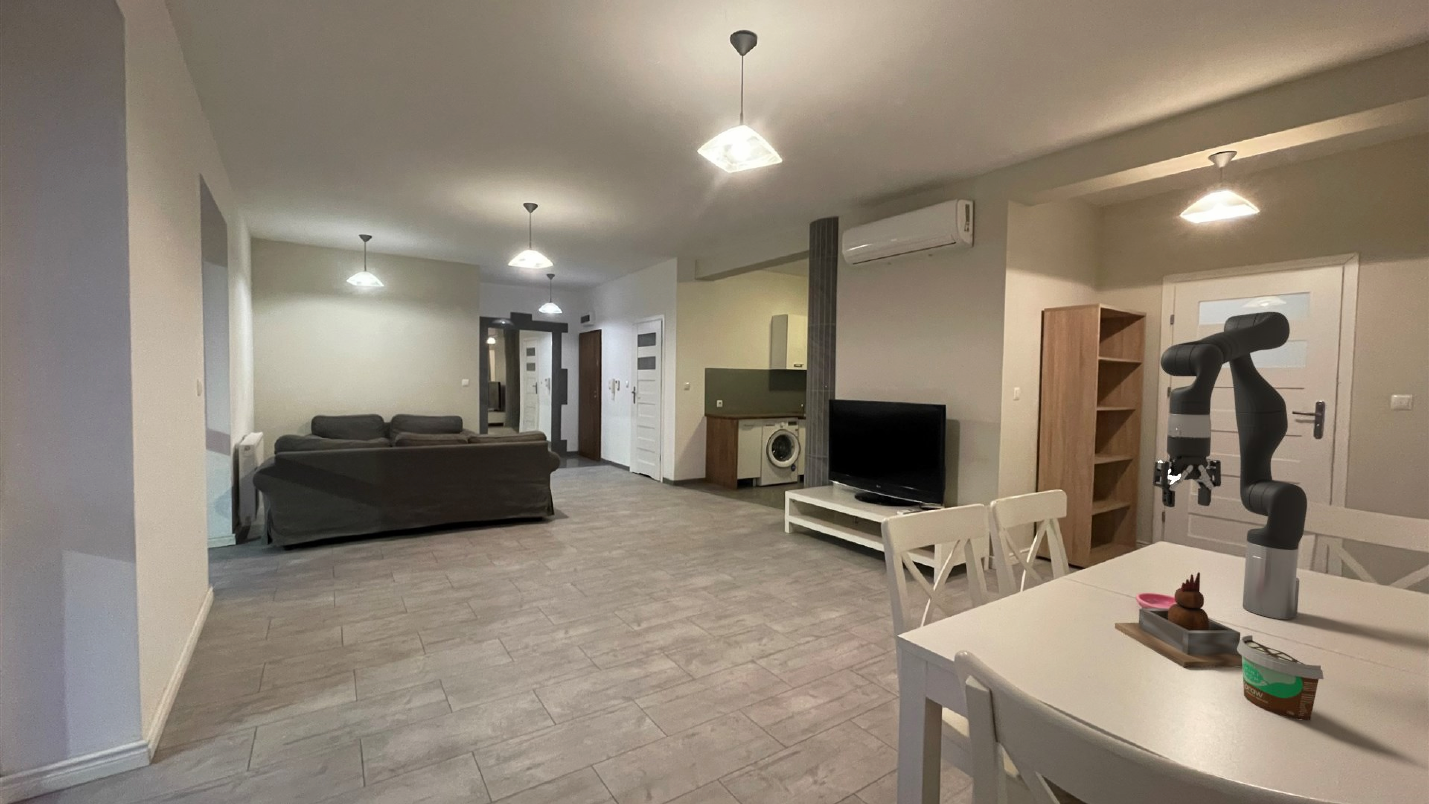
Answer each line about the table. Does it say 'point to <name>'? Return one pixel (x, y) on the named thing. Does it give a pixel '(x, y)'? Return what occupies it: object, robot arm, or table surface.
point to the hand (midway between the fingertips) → (1186, 505)
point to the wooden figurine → (1189, 607)
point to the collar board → (1185, 640)
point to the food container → (1278, 680)
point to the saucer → (1155, 601)
